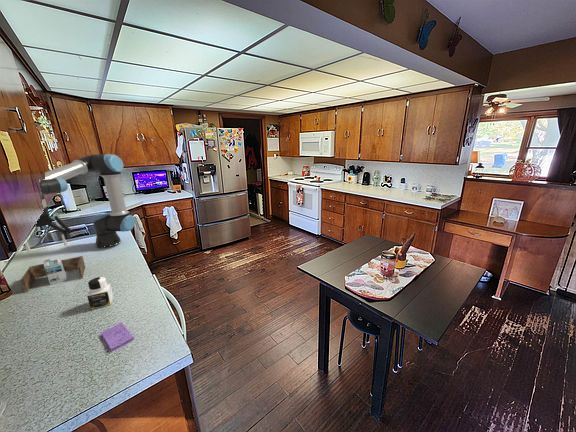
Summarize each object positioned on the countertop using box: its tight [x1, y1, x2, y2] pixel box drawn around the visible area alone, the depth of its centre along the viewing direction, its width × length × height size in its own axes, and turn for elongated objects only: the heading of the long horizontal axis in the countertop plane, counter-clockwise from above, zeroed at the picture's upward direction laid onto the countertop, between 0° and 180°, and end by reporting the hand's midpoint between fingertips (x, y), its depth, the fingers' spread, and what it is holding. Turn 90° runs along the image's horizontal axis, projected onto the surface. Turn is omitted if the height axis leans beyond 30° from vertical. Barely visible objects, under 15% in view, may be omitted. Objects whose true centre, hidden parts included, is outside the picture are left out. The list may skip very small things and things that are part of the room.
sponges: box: [100, 321, 135, 353], centre depth 86 cm, size 7×13×2 cm, turn 51°
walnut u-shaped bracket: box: [20, 255, 86, 293], centre depth 126 cm, size 22×17×7 cm
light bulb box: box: [43, 256, 68, 286], centre depth 125 cm, size 11×7×11 cm, turn 47°
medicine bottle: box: [86, 276, 114, 310], centre depth 104 cm, size 7×7×12 cm
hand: (48, 248), depth 121 cm, fingers open, 13 cm apart
